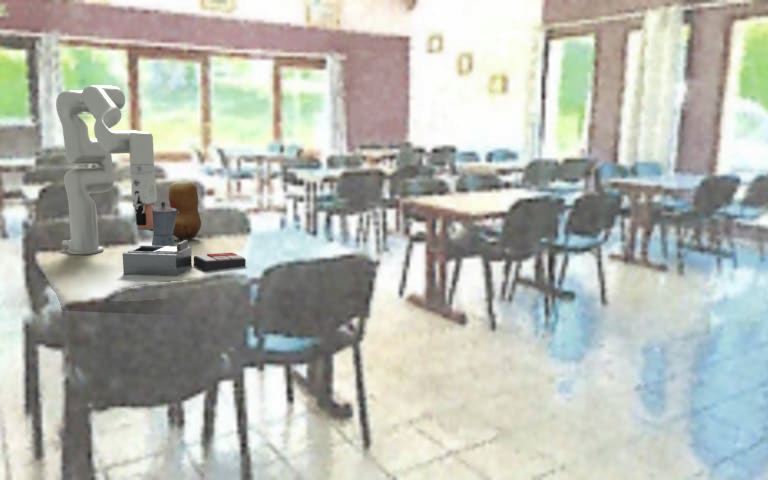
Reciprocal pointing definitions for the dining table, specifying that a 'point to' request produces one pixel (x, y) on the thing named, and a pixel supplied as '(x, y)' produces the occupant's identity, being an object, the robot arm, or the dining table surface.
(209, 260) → the calculator
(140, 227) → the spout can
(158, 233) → the moka pot
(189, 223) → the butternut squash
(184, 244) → the guard cover
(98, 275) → the dining table surface
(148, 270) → the grey metal box
